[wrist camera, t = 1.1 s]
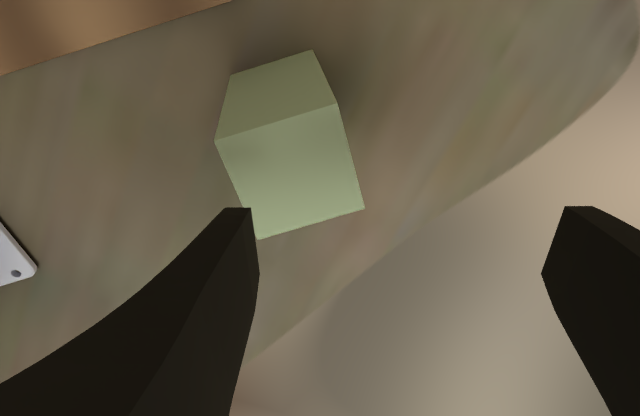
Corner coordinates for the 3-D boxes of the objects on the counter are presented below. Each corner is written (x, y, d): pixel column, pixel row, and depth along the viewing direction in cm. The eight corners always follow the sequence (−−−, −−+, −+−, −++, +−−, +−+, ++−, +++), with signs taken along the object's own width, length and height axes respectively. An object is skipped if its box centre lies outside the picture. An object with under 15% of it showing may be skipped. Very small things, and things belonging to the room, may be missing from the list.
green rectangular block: (259, 150, 22) (257, 240, 16) (230, 74, 20) (213, 141, 13) (333, 127, 22) (365, 208, 15) (312, 49, 20) (337, 103, 13)
